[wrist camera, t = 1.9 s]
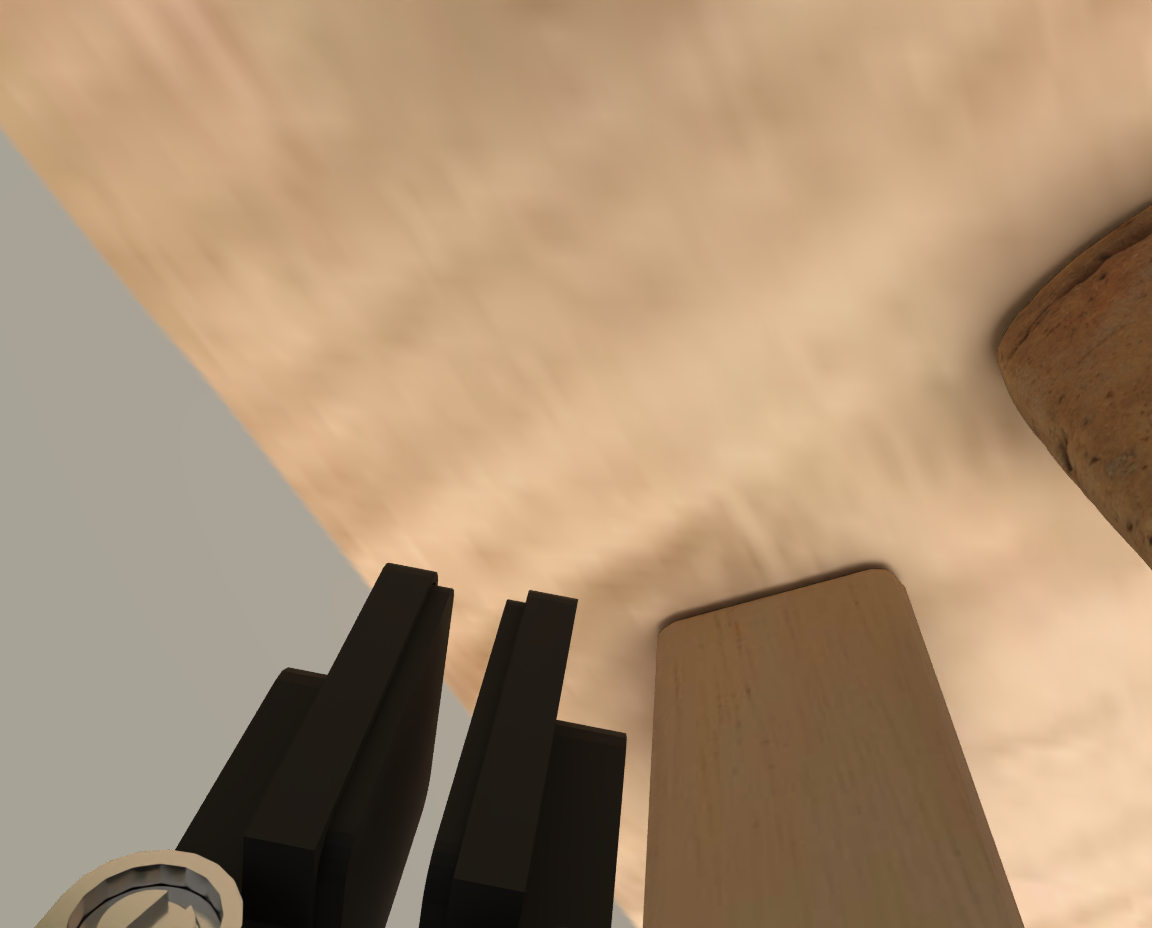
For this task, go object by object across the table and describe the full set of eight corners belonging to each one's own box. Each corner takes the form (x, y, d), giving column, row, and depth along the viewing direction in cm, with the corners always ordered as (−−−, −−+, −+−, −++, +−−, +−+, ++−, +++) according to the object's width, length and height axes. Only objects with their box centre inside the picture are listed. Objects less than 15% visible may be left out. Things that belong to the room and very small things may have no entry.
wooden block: (725, 799, 46) (747, 1323, 28) (649, 618, 43) (619, 1084, 25) (953, 748, 44) (1135, 1284, 26) (893, 552, 40) (1057, 1015, 22)
